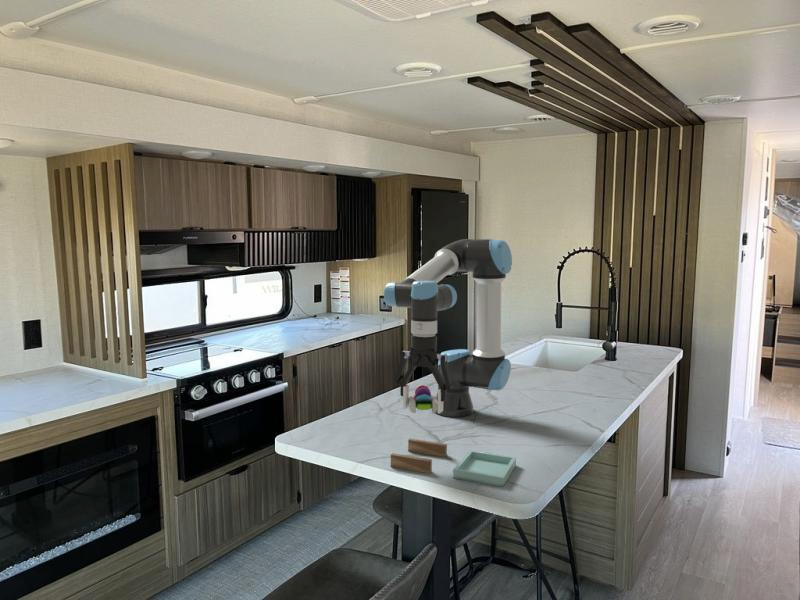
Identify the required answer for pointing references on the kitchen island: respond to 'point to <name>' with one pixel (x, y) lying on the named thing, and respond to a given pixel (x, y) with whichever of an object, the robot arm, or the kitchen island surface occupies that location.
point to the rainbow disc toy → (423, 400)
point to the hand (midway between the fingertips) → (423, 409)
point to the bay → (418, 462)
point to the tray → (485, 468)
